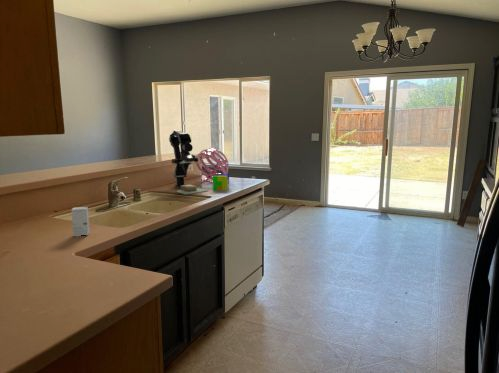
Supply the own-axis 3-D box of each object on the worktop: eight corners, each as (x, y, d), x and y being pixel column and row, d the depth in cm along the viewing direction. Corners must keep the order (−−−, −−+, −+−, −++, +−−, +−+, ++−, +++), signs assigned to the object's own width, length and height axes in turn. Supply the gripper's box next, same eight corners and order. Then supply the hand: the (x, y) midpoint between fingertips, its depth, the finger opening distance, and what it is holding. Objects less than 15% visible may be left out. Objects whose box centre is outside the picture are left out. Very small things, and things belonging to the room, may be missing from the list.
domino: (180, 185, 256) (187, 187, 248) (189, 184, 260) (196, 186, 252) (180, 189, 256) (187, 191, 248) (189, 188, 260) (196, 190, 252)
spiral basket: (199, 160, 265) (220, 138, 279) (180, 166, 286) (200, 145, 300) (222, 188, 275) (241, 165, 290) (202, 192, 296) (220, 170, 311)
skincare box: (73, 237, 155) (70, 209, 153) (75, 233, 160) (72, 207, 158) (88, 235, 157) (85, 208, 155) (90, 232, 161) (88, 206, 159)
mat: (175, 191, 253) (175, 190, 252) (198, 188, 263) (198, 187, 263) (185, 194, 242) (185, 193, 242) (208, 191, 252) (208, 190, 252)
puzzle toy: (229, 187, 264) (228, 174, 262) (227, 190, 254) (226, 176, 252) (215, 187, 265) (215, 174, 263) (213, 190, 255) (212, 176, 253)
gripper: (177, 152, 246) (178, 175, 249) (201, 150, 257) (202, 172, 260) (170, 151, 255) (171, 173, 258) (194, 149, 266) (195, 170, 269)
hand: (185, 172), depth 261 cm, fingers closed
